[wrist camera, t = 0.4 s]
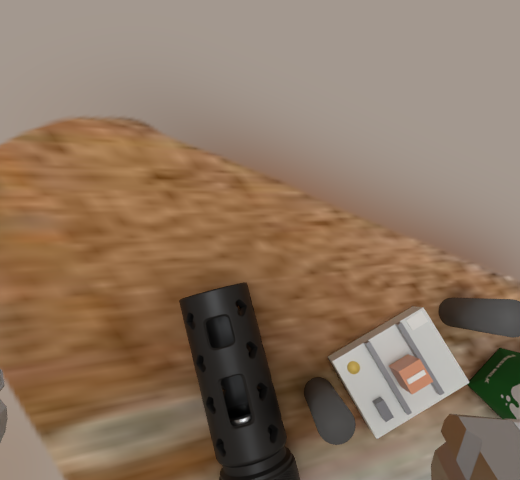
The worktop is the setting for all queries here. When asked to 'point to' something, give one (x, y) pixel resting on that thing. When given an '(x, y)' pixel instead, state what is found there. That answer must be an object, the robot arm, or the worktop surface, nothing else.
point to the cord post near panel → (329, 411)
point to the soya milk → (500, 383)
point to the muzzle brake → (237, 386)
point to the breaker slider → (410, 373)
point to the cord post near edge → (482, 315)
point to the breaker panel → (383, 380)
